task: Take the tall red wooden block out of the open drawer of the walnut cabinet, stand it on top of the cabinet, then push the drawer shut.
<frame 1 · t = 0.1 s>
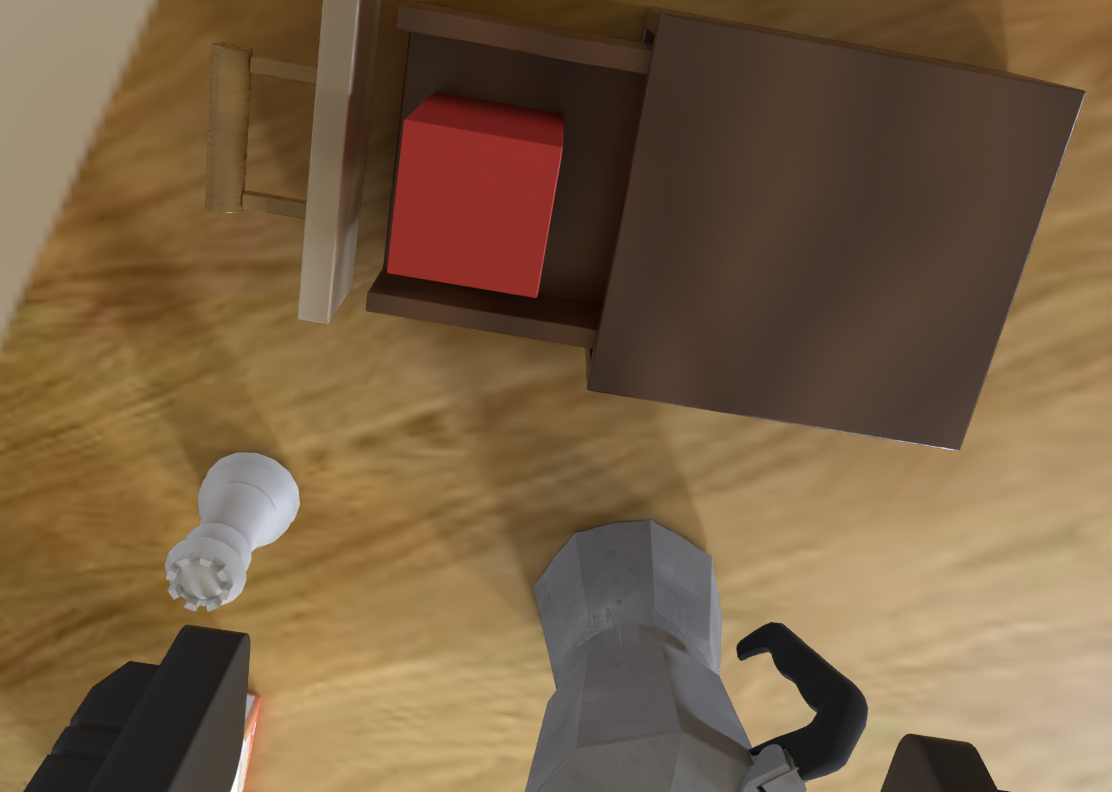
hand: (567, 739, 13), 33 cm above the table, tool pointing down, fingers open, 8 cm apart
cabinet: (786, 209, 43), on the table
cracker box: (196, 781, 56), on the table
grey upright piece: (646, 586, 51), on the table
drawer: (447, 166, 40), point 3 cm above the table, slide at 10.0 cm, touching block
block: (490, 167, 41), point 2 cm above the table, touching drawer
rook chess piece: (255, 488, 49), on the table
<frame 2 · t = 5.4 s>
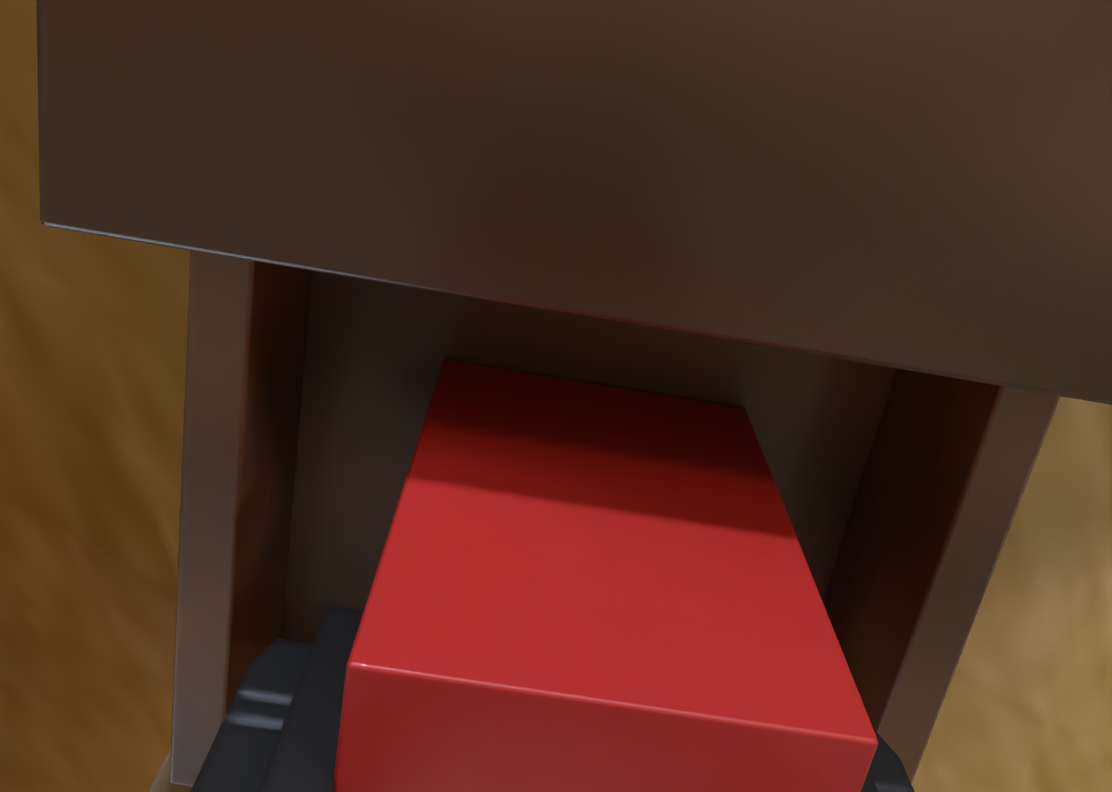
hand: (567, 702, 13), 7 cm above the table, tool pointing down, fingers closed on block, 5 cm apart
drawer: (553, 635, 17), point 3 cm above the table, slide at 10.0 cm, touching block
block: (569, 516, 18), point 2 cm above the table, touching drawer, gripper
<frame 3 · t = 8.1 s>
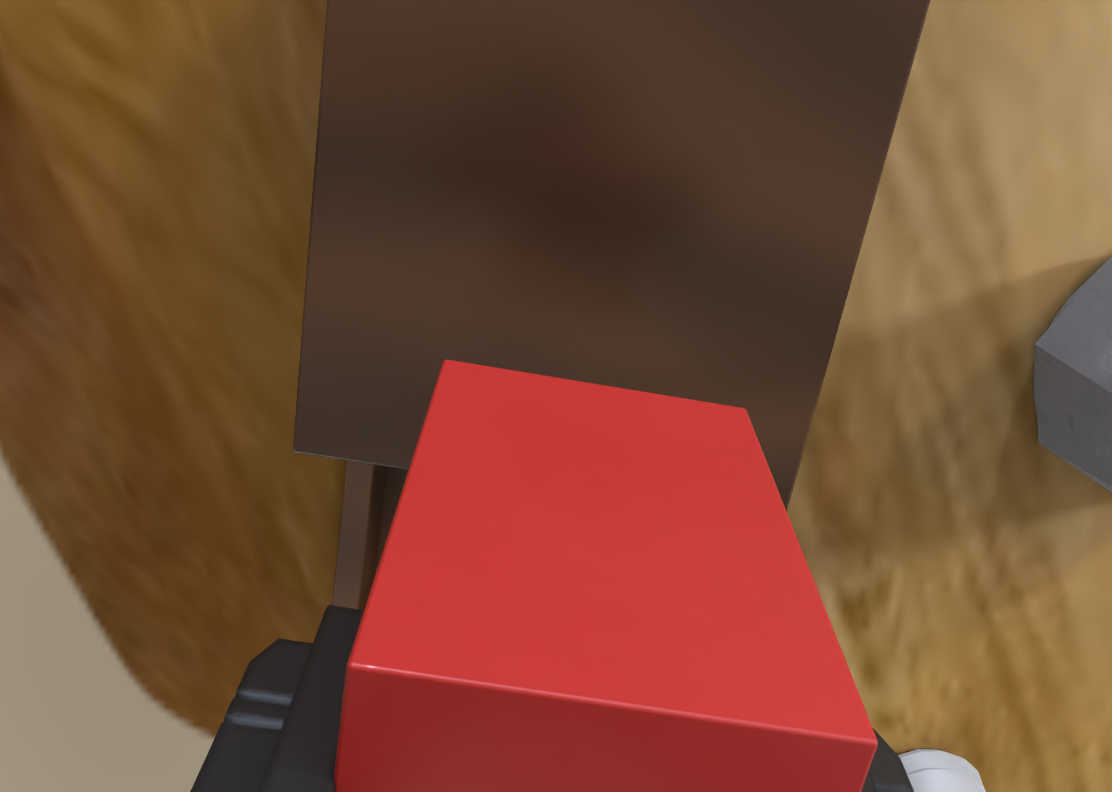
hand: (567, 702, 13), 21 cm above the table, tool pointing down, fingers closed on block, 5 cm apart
cabinet: (583, 181, 32), on the table
drawer: (511, 620, 34), point 3 cm above the table, slide at 10.0 cm
block: (569, 516, 18), point 16 cm above the table, touching gripper
rook chess piece: (919, 783, 41), on the table
when the fingers open (12 cm above the table, at t = 11.0 s): block stays where it is, resting on cabinet.
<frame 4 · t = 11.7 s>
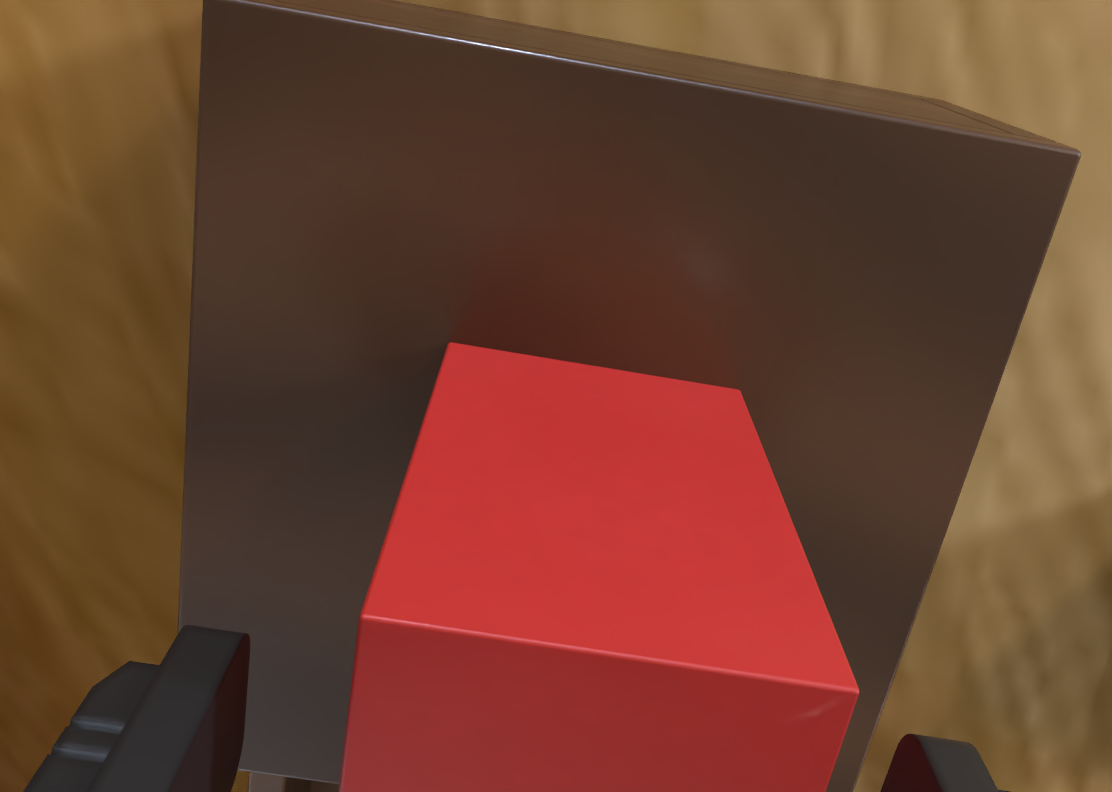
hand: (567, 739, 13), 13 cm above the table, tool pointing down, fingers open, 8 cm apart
cabinet: (569, 365, 25), on the table
block: (569, 495, 19), point 7 cm above the table, touching cabinet
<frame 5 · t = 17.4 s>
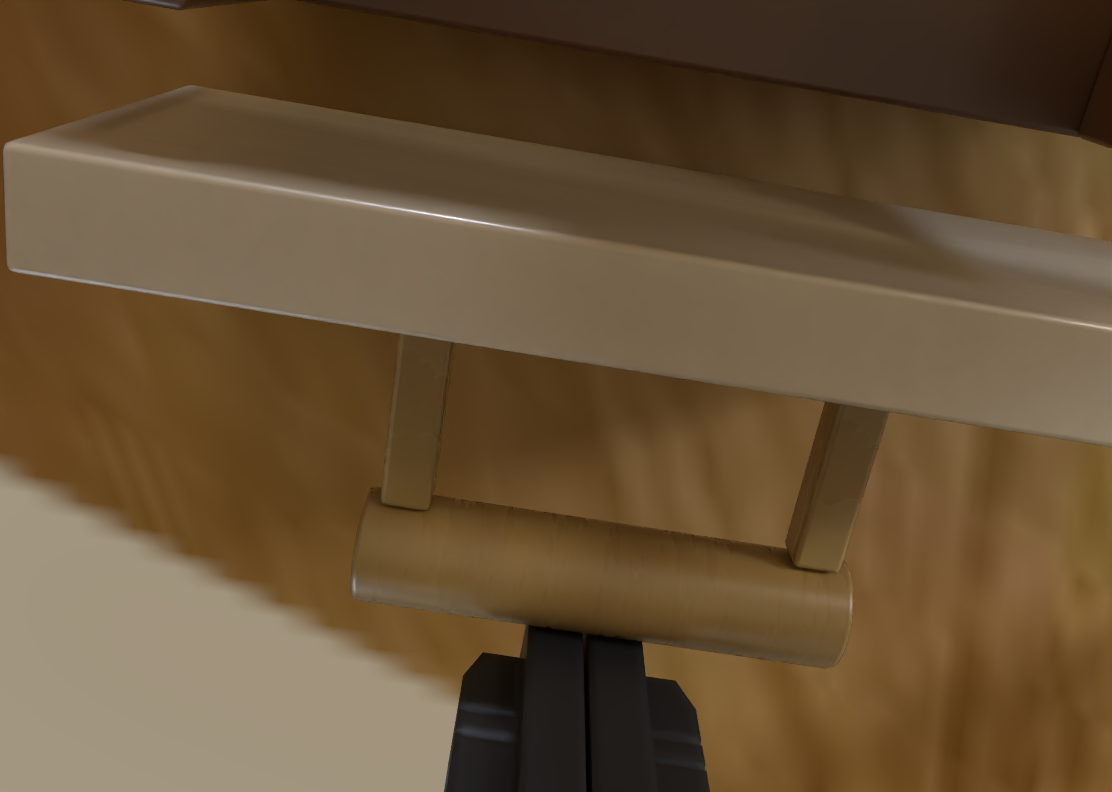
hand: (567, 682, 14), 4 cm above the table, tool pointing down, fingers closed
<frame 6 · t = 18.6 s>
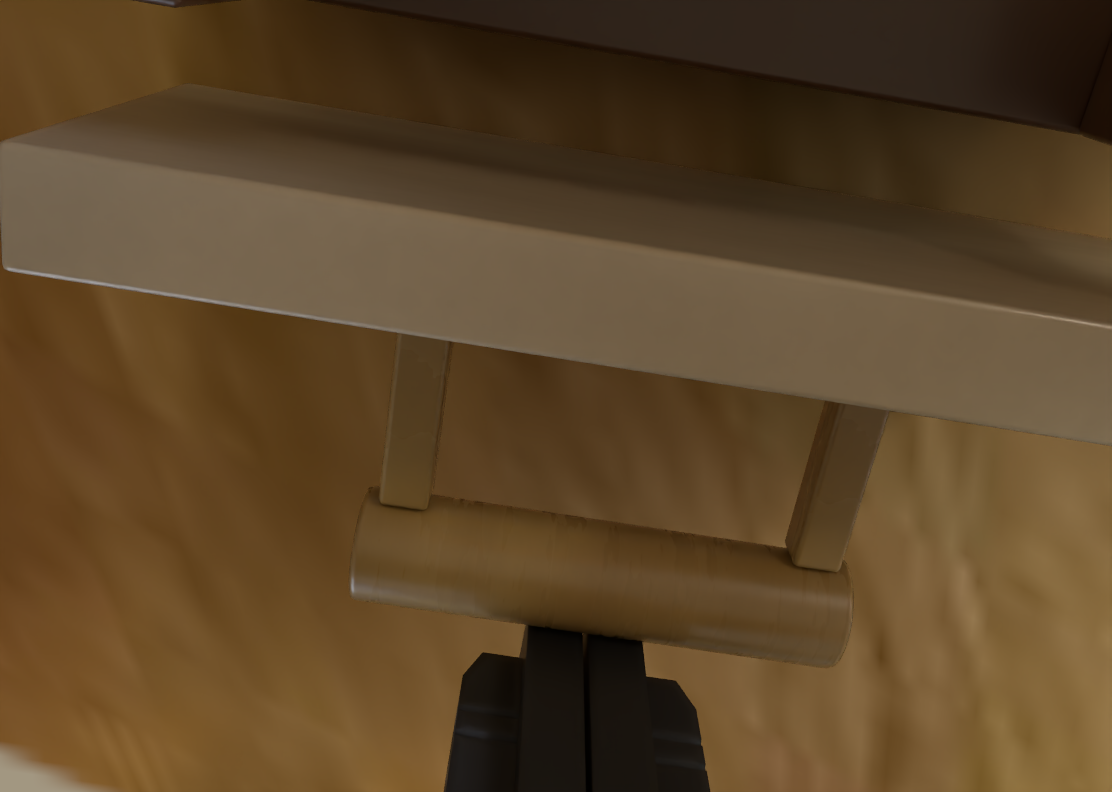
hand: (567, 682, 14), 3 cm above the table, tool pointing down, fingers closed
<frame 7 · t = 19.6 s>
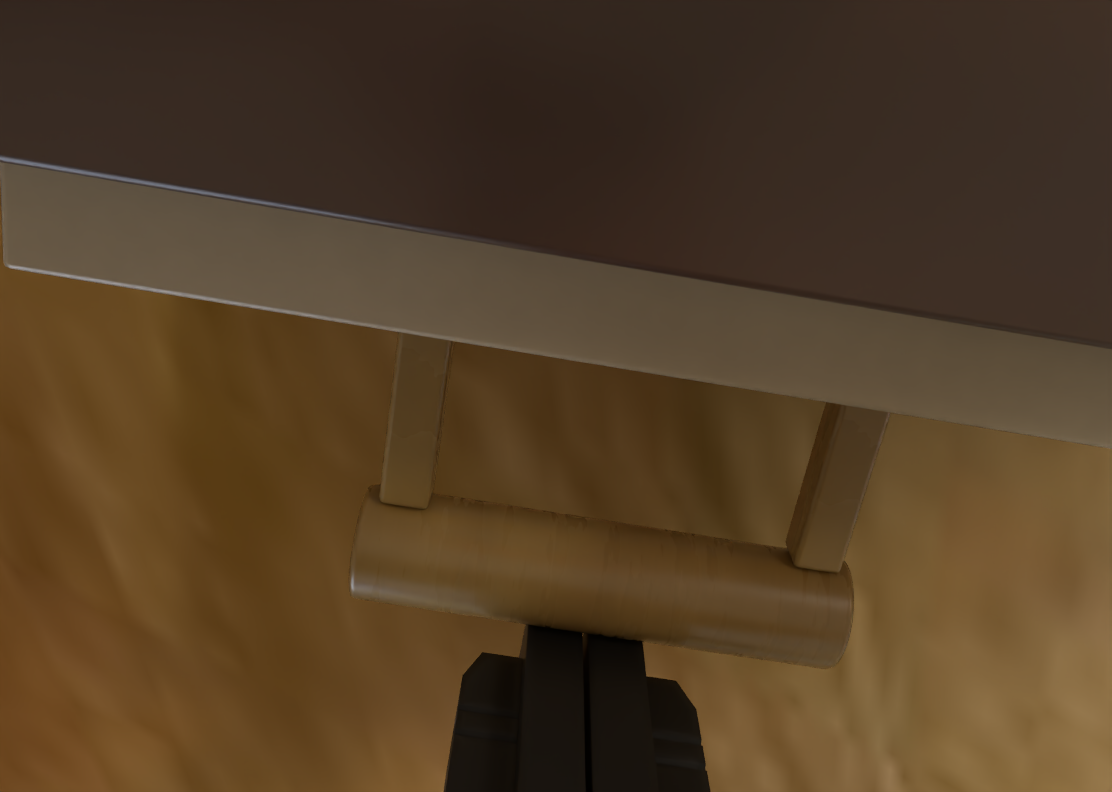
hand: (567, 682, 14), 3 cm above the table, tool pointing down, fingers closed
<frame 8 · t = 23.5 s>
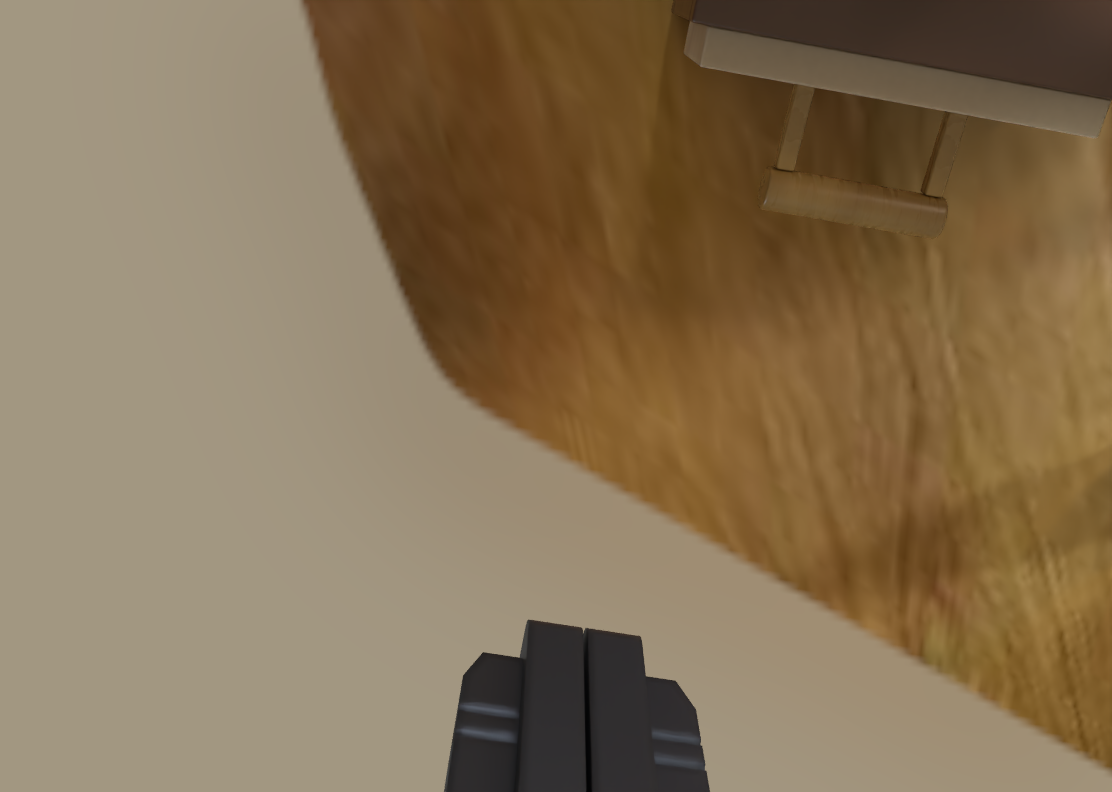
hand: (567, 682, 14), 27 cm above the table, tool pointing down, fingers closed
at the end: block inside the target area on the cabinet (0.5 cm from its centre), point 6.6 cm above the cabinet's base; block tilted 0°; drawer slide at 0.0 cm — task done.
